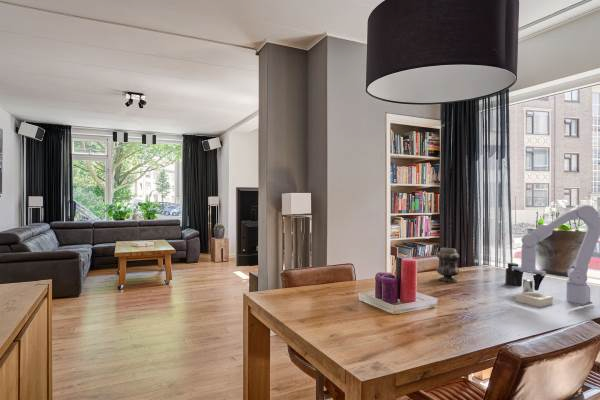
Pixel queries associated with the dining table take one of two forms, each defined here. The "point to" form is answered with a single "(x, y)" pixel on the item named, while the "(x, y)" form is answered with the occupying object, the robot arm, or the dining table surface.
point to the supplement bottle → (510, 275)
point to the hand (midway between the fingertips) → (527, 288)
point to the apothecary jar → (447, 264)
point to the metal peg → (527, 285)
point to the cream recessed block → (533, 299)
